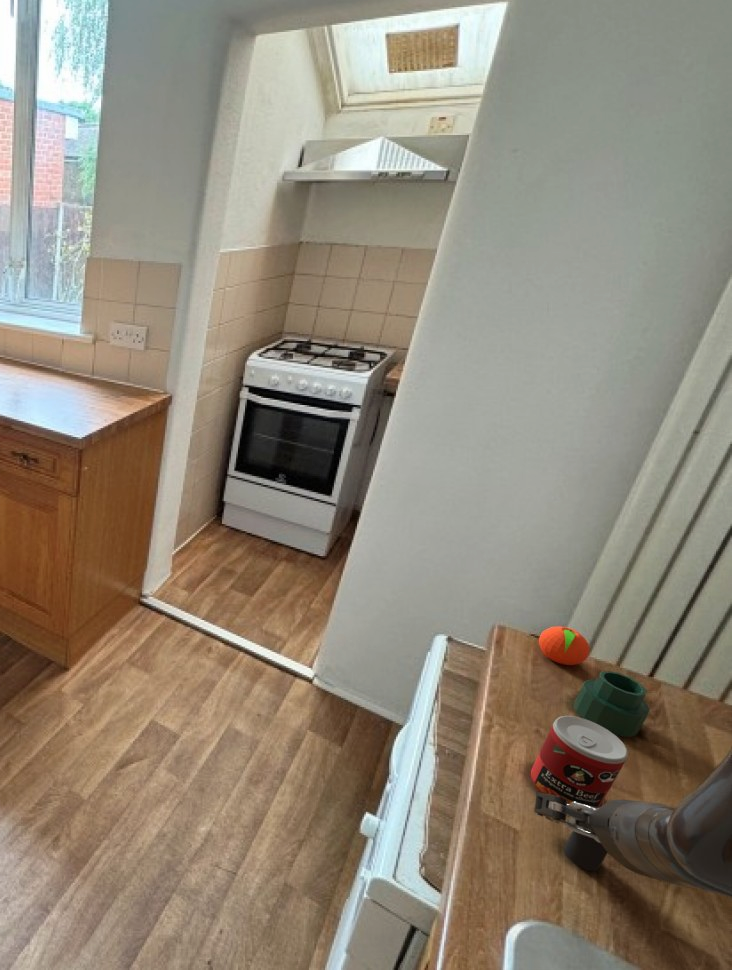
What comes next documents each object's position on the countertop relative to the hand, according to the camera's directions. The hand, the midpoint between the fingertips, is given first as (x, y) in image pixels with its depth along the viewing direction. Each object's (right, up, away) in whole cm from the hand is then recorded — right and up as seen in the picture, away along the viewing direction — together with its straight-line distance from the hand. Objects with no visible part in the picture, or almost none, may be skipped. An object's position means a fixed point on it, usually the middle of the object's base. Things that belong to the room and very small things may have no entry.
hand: (591, 828), depth 78 cm
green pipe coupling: (+26, +3, +23) cm, 34 cm away
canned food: (+6, -1, +10) cm, 12 cm away
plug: (-1, -5, +1) cm, 5 cm away
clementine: (+30, +8, +36) cm, 47 cm away
